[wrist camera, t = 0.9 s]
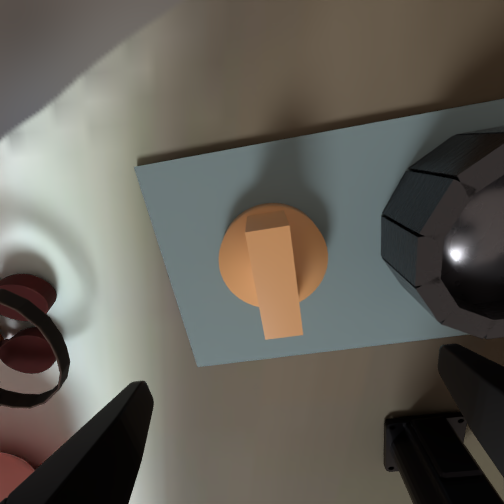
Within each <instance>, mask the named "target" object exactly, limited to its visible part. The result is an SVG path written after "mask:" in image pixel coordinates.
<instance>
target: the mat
mask: <svg viewBox="0 0 504 504" xmlns="http://www.w3.org/2000/svg"><path fill="white" fill-rule="evenodd" d="M499 126H504V99H500V100H494V101H489V102H483V103H478V104H473V105H467V106H462V107H456V108H451V109H445V110H440V111H435V112H429V113H424V114H418V115H413V116H408V117H402V118H397V119H391V120H386V121H380V122H375V123H370V124H364V125H359V126H353V127H348V128H342V129H337V130H332V131H326V132H321V133H315V134H310V135H305V136H299V137H294V138H288V139H283V140H277V141H272V142H267V143H261V144H256V145H250V146H245V147H239V148H234V149H229V150H223V151H218V152H212V153H207V154H201V155H196V156H191V157H185V158H180V159H174V160H169V161H164V162H158V163H153V164H147V165H142V166H136V167H134V169H135V172H136V175H137V178H138V181H139V185H140V188H141V191H142V194H143V197H144V200H145V203H146V207H147V210H148V213H149V216H150V219H151V222H152V225H153V228H154V232H155V235H156V238H157V241H158V244H159V247H160V250H161V254H162V257H163V260H164V263H165V266H166V269H167V272H168V276H169V279H170V282H171V285H172V288H173V291H174V294H175V297H176V301H177V304H178V307H179V310H180V313H181V316H182V319H183V323H184V326H185V329H186V332H187V335H188V338H189V341H190V345H191V348H192V351H193V354H194V357H195V360H196V363H197V367H202V366H210V365H218V364H227V363H235V362H243V361H252V360H260V359H268V358H277V357H285V356H293V355H302V354H310V353H318V352H327V351H335V350H343V349H351V348H360V347H368V346H376V345H385V344H393V343H401V342H410V341H418V340H426V339H435V338H443V337H451V336H460V335H468V334H467V333H464V332H462V331H459V330H456V329H453V328H450V327H447V326H444V325H441V324H440V323H439V322H438V321H437V320H436V319H435V318H434V317H433V316H432V315H431V314H430V313H429V312H428V311H427V310H426V309H425V308H424V307H422V306H421V305H420V304H419V303H418V302H417V301H416V300H415V299H414V298H413V297H412V296H411V295H410V294H409V293H408V292H407V291H406V290H405V289H404V288H403V287H402V286H401V284H400V283H399V282H398V280H397V279H396V277H395V276H394V275H393V273H392V272H391V270H390V269H389V268H388V266H387V265H386V263H385V262H384V261H383V259H382V256H381V216H384V214H383V213H382V212H383V210H384V208H385V207H386V205H387V203H388V201H389V199H390V198H391V196H392V194H393V192H394V191H395V189H396V187H397V185H398V183H399V182H400V180H401V178H402V176H403V175H404V173H405V171H410V170H409V167H410V166H411V165H413V164H414V163H415V162H417V161H418V160H420V159H421V158H422V157H424V156H425V155H426V154H428V153H429V152H431V151H432V150H433V149H435V148H436V147H437V146H439V145H440V144H442V143H443V142H444V141H446V140H447V139H448V138H450V137H451V136H455V135H456V134H459V133H465V132H470V131H476V130H482V129H487V128H493V127H499ZM265 203H281V204H286V205H289V206H292V207H295V208H297V209H299V210H300V211H302V212H304V213H305V214H306V215H307V216H308V217H309V218H310V219H311V220H312V221H313V222H314V224H315V225H316V226H317V228H318V229H319V231H320V232H321V234H322V236H323V238H324V240H325V242H326V246H327V251H328V265H327V269H326V273H325V275H324V278H323V280H322V281H321V283H320V285H319V286H318V287H317V288H316V290H315V291H314V292H313V293H312V294H311V295H309V296H308V297H307V298H305V299H304V300H302V301H301V302H299V305H300V313H301V321H302V329H303V335H299V336H291V337H284V338H276V339H268V340H265V336H264V330H263V325H262V320H261V315H260V309H259V307H257V306H253V305H251V304H248V303H246V302H244V301H242V300H241V299H239V298H238V297H237V296H236V295H234V294H233V293H232V292H231V291H230V289H229V288H228V287H227V285H226V284H225V282H224V280H223V278H222V276H221V273H220V269H219V250H220V247H221V243H222V240H223V238H224V235H225V233H226V230H227V229H228V227H229V225H230V224H231V223H232V221H233V220H234V219H235V218H236V217H237V216H238V215H240V214H241V213H242V212H244V211H245V210H247V209H249V208H251V207H254V206H256V205H260V204H265Z"/></svg>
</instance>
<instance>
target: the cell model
mask: <svg viewBox="0 0 504 504" xmlns="http://www.w3.org/2000/svg"><path fill="white" fill-rule="evenodd" d="M34 471H35V469H34V468H33V467H32V466H31V465H30V464H29V463H28V462H27V461H25V460H24V459H22V458H20V457H18V456H16V455H12V454H8V453H3V452H0V502H1V501H2V500H3V499H4V498H6V497H8V495H9V494H10V493H11V492H12V491H13V490H14V489H15V488H16V487H17V486H19V485H20V484H21V483H22V482H23V481H24V480H25V479H26V478H27V477H28V476H29V475H31V474H32V473H33V472H34Z"/></svg>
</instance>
